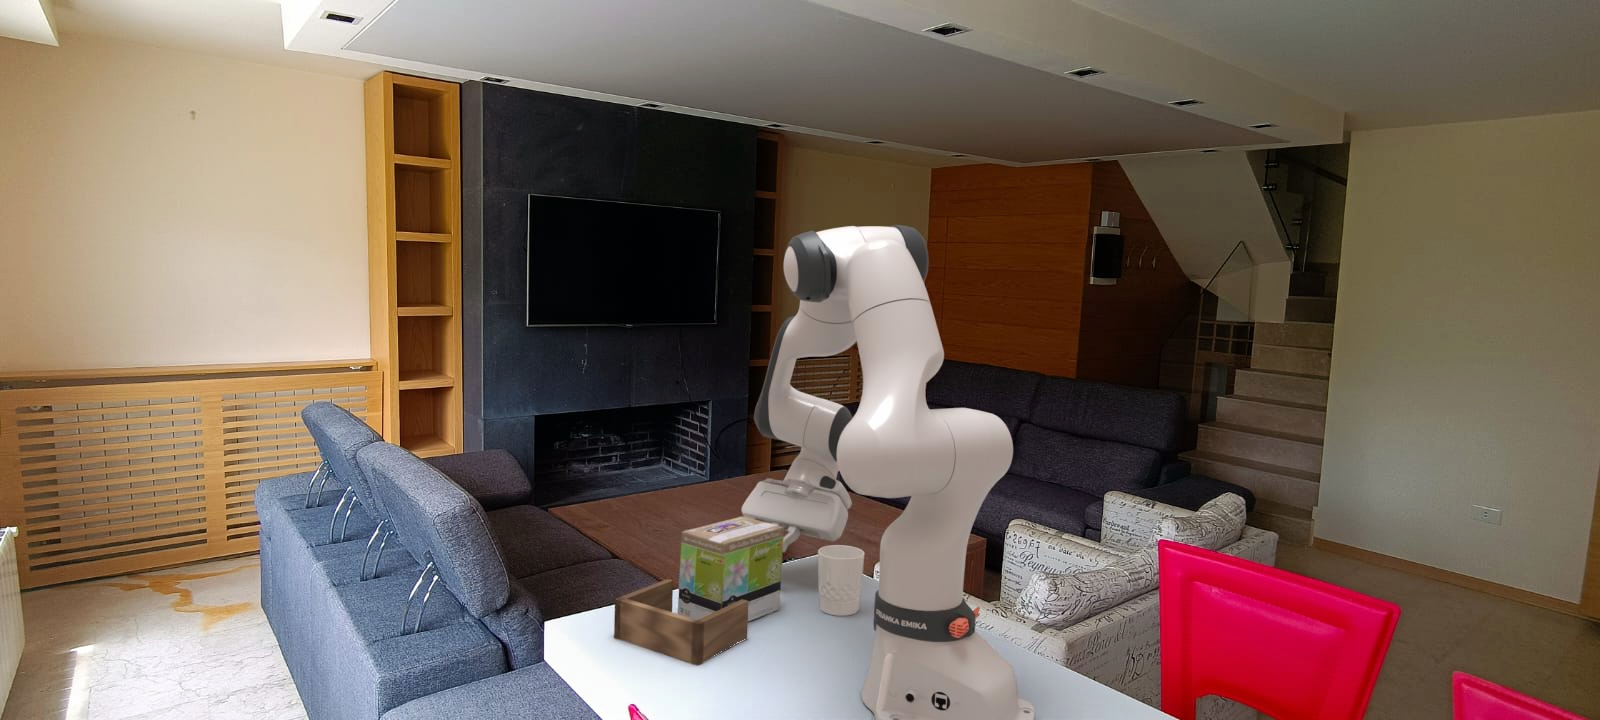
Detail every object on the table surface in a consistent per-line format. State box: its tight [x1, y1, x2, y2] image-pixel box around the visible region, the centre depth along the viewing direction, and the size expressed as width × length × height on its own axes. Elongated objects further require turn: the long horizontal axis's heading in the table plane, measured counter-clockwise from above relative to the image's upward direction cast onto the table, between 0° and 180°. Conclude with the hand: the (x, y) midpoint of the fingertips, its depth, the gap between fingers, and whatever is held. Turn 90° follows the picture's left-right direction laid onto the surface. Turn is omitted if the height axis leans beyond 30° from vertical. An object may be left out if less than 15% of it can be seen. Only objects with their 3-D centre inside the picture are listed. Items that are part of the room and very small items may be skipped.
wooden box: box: [613, 578, 749, 666], centre depth 134 cm, size 16×12×6 cm
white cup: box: [817, 544, 865, 617], centre depth 148 cm, size 8×8×10 cm
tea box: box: [677, 515, 785, 622], centre depth 144 cm, size 15×10×15 cm
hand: (775, 549), depth 155 cm, fingers closed
